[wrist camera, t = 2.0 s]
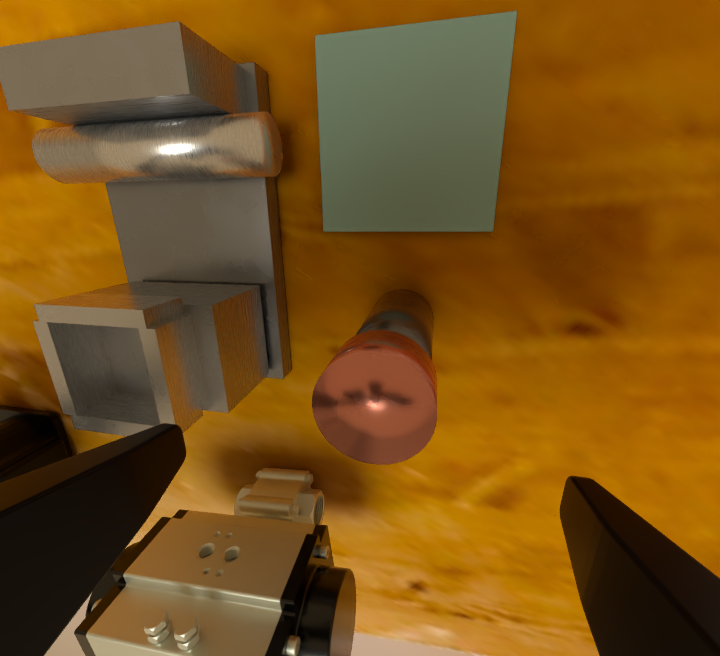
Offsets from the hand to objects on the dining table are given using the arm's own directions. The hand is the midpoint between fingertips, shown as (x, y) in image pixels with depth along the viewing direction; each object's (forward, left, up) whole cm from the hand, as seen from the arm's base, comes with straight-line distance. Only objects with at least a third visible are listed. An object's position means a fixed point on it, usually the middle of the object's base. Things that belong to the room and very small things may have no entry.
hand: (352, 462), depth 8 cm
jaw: (-11, 0, -10) cm, 15 cm away
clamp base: (-11, +4, -11) cm, 16 cm away
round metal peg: (0, 0, -11) cm, 11 cm away
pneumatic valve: (-7, -12, -11) cm, 18 cm away
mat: (0, +9, -11) cm, 14 cm away
